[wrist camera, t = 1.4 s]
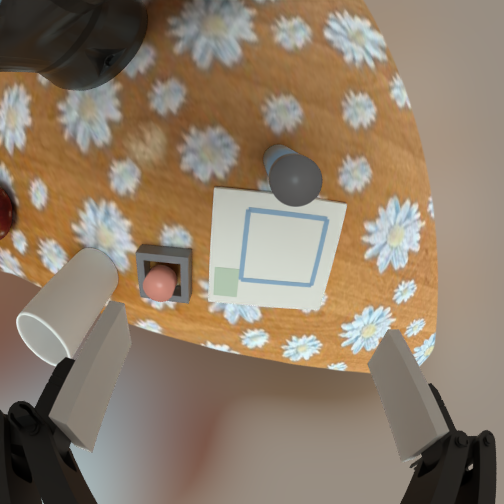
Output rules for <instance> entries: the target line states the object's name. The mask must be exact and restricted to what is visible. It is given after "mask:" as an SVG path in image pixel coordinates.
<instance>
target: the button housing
mask: <svg viewBox="0 0 504 504" xmlns="http://www.w3.org/2000/svg"><path fill="white" fill-rule="evenodd" d="M136 261H137V271H138V280H139V288H140V296H141V297H144V298H149V297H148V296H147V295H146V293H145V292H144V290H143V281H144V279H145V278H146V276H147V274H148V273H149V271H150V261H156V262H165V263H174V264H180V265H181V286H176V287H175V290H174V292H173V295H172V297H171V298H170V299H169V300H167V301H173V302H181V303H189V301H190V298H191V294H192V249H184V248H174V247H164V246H154V245H144V244H142V245H141V246H140V247H139V249H138V250H137V251H136Z"/></svg>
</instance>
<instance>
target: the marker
mask: <svg viewBox="0 0 504 504" xmlns="http://www.w3.org/2000/svg"><path fill="white" fill-rule="evenodd" d="M263 163H264V166H265V169H266V171H267V174H268V177H269V184H270V187H271V190H272V192H273V194H274V196H275V197H276V198H277V199H278V200H279V201H280V202H281V203H283V204H285V205H288V206H292V207H300V206H304V205H307V204H309V203H310V202H312V201H313V200H314V199H315V198H316V197H317V196H318V194H319V192H320V190H321V187H322V174H321V171H320V169H319V168H318V166H317V165H316V164H315V163H314V162H313V161H312V160H311V159H309V158H307V157H306V156H304V155H301V154H298V153H297V152H295V151H293V150H292V149H290V148H288V147H287V146H285V145H280V144H277V145H273V146H271V147H269V148H268V149H267V150H266V152H265V153H264V156H263Z"/></svg>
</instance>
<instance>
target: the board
mask: <svg viewBox="0 0 504 504" xmlns="http://www.w3.org/2000/svg"><path fill="white" fill-rule="evenodd" d="M346 208H347V204H346V203H344V202H338V201H331V200H325V199H318V198H315V199H314V200H313V201H312V202H310V203H309V204H307V205H304V206H300V207H292V206H288V205H285V204H283V203H281V202H280V201H279V200H278V199H277V198H276V197H275V196H274V194H273V192H265V191H256V190H246V189H236V188H226V187H215V188H214V197H213V212H212V228H211V246H210V267H209V294H208V301H209V302H218V303H229V304H239V305H251V306H263V307H276V308H291V309H308V310H319V308H320V305H321V302H322V299H323V295H324V292H325V289H326V285H327V282H328V278H329V275H330V271H331V268H332V264H333V260H334V257H335V253H336V249H337V245H338V241H339V237H340V233H341V229H342V225H343V221H344V217H345V212H346Z"/></svg>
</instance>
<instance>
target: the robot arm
mask: <svg viewBox="0 0 504 504" xmlns="http://www.w3.org/2000/svg"><path fill="white" fill-rule="evenodd" d="M146 28H147V12H146V8H145V6H144V4H143V3H142V1H141V0H0V72H35V73H39V74H41V75H42V76H43V77H45V78H46V79H48V80H49V81H51V82H52V83H53V84H55V85H56V86H58V87H60V88H63V89H68V90H88V89H92V88H95V87H97V86H100V85H102V84H104V83H105V82H107V81H109V80H110V79H112V78H113V77H114V76H116V75H117V74H118V73H119V72H120V71H121V70H122V69H123V68H124V67H125V66H126V65H127V64H128V63H129V62H130V61H131V59H132V58H133V57H134V55H135V54H136V52H137V51H138V49H139V47H140V45H141V43H142V41H143V38H144V36H145V33H146ZM131 344H132V343H131V338H130V333H129V327H128V322H127V316H126V310H125V304H124V303H120V302H115V301H110V302H109V303H108V305H107V307H106V308H105V310H104V311H103V313H102V315H101V317H100V318H99V320H98V322H97V323H96V325H95V327H94V328H93V330H92V332H91V334H90V335H89V337H88V339H87V340H86V342H85V344H84V346H83V348H82V349H81V351H80V353H79V355H78V357H77V359H76V360H73V359H71V358H68V357H65V358H64V359H63V360H62V361H60V362H59V363H58V364H57V366H56V368H55V369H54V371H53V373H52V376H51V377H50V379H49V382H48V383H47V384H46V386H45V389H44V390H43V392H42V394H41V396H40V398H39V400H38V402H37V405H36V406H35V408H34V407H33V406H32V405H30V404H29V403H27V402H25V401H18V402H16V403H14V404H13V405H12V406H11V407H10V409H9V411H8V415H6V414H3V412H2V411H1V410H0V504H42V500H43V503H44V504H97V502H96V500H95V498H94V497H93V495H92V493H91V491H90V489H89V487H88V485H87V484H86V482H85V480H84V478H83V476H82V474H81V471H80V469H79V467H78V465H77V463H76V461H75V459H74V456H73V454H72V451H71V449H70V448H69V447H70V444H71V442H72V443H73V444H74V445H75V446H76V447H78V448H81V449H83V450H86V451H88V452H91V453H92V452H93V448H94V445H95V441H96V438H97V435H98V432H99V429H100V426H101V423H102V420H103V417H104V414H105V411H106V409H107V406H108V403H109V400H110V397H111V395H112V392H113V389H114V387H115V384H116V381H117V379H118V376H119V374H120V371H121V368H122V366H123V363H124V361H125V359H126V356H127V353H128V351H129V349H130V346H131ZM368 367H369V369H370V372H371V374H372V377H373V379H374V382H375V385H376V388H377V390H378V393H379V396H380V399H381V402H382V404H383V407H384V410H385V413H386V416H387V419H388V422H389V424H390V428H391V431H392V434H393V437H394V440H395V443H396V446H397V449H398V453H399V456H400V460H401V462H405V461H408V460H411V459H414V458H415V457H416V456H418V455H420V454H421V455H422V457H421V458H420V459H419V460H417V461H416V462H414V463H413V464H411V466H410V468H412V467H413V466H415V465H417V466H416V467H415V468H414V470H415V472H414V474H413V477H412V479H411V481H410V484H409V486H408V488H407V491H406V493H405V495H404V497H403V499H402V501H401V503H400V504H495V497H496V448H495V447H496V446H495V438H494V436H493V434H492V433H491V432H490V431H488V430H485V431H483V432H482V433H480V434H479V435H478V436H467V435H466V433H464V432H463V431H457V430H456V429H455V426H454V424H453V422H452V420H451V417H450V415H449V413H448V411H447V409H446V407H445V406H444V402H443V400H441V396H440V394H439V392H438V390H437V389H436V388H435V387H434V386H433V385H432V384H431V383H430V384H428V383H427V381H426V379H425V377H424V375H423V373H422V371H421V369H420V368H419V365H418V364H417V362H416V360H415V358H414V356H413V354H412V352H411V350H410V349H409V347H408V345H407V343H406V341H405V339H404V338H403V336H402V334H401V332H400V331H399V330H387V332H386V334H385V336H384V337H383V339H382V341H381V342H380V344H379V346H378V348H377V349H376V351H375V353H374V354H373V356H372V358H371V359H370V361H369V362H368ZM471 464H473V469H471V470H469V469H468V466H470V465H471ZM41 499H42V500H41Z"/></svg>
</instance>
